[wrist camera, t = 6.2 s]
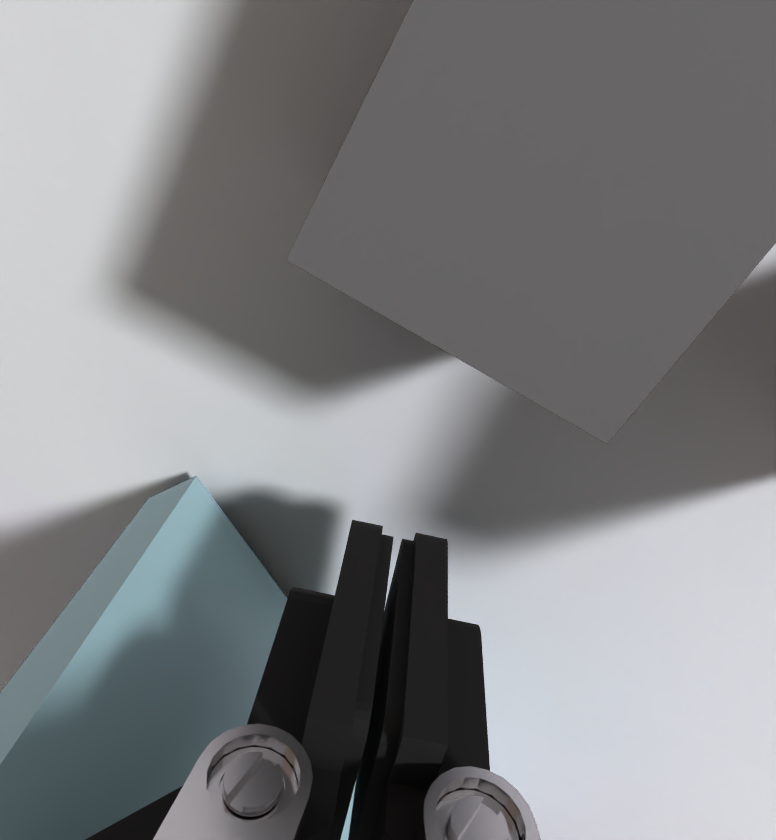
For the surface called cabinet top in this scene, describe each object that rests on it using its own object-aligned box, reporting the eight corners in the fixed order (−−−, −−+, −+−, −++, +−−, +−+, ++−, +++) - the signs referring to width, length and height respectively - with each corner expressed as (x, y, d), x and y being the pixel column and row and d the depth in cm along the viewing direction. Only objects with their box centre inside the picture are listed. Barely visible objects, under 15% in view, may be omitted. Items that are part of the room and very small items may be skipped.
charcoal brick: (870, -128, 8) (1273, -350, 4) (549, 323, 11) (606, 444, 7) (617, -328, 8) (808, -807, 4) (346, 202, 11) (285, 259, 7)
